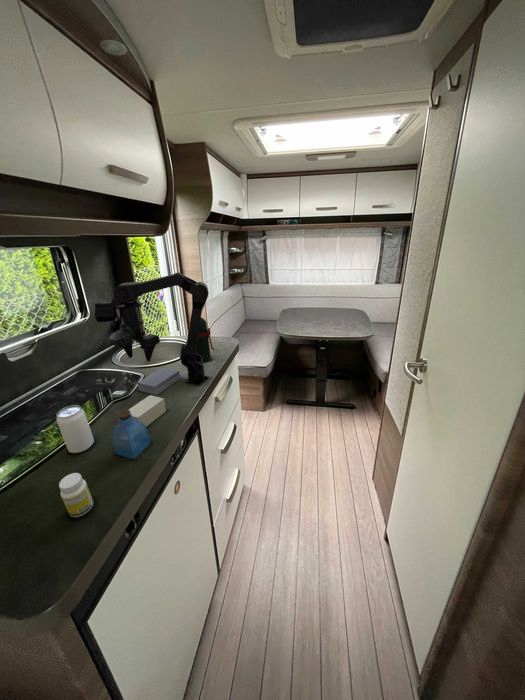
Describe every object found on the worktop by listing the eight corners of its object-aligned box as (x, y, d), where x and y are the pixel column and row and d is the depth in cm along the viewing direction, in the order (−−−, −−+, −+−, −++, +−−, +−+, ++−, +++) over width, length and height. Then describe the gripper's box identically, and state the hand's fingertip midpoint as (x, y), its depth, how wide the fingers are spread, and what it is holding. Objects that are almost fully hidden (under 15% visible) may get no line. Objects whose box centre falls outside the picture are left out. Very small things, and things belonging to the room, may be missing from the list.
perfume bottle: (150, 443, 80) (141, 408, 75) (134, 459, 74) (124, 422, 70) (132, 439, 82) (123, 405, 77) (116, 454, 76) (105, 418, 71)
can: (82, 455, 76) (69, 419, 71) (62, 452, 77) (48, 417, 73) (99, 439, 82) (88, 405, 77) (80, 436, 83) (68, 403, 78)
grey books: (164, 374, 119) (163, 366, 117) (181, 378, 115) (180, 370, 114) (138, 390, 107) (137, 382, 106) (156, 395, 104) (154, 386, 102)
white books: (152, 407, 96) (151, 399, 95) (166, 411, 94) (164, 403, 93) (126, 426, 87) (124, 418, 86) (141, 430, 85) (139, 423, 84)
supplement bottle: (76, 499, 63) (65, 471, 60) (97, 497, 64) (87, 470, 60) (64, 519, 59) (51, 490, 56) (87, 517, 59) (75, 488, 56)
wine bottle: (213, 363, 128) (206, 298, 116) (191, 362, 128) (182, 298, 117) (217, 356, 135) (211, 294, 123) (197, 355, 136) (188, 294, 124)
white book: (151, 399, 95) (150, 394, 94) (164, 403, 93) (163, 398, 92) (124, 418, 86) (123, 413, 85) (139, 422, 84) (137, 417, 83)
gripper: (92, 323, 95) (103, 364, 102) (131, 329, 88) (141, 373, 94) (119, 315, 105) (128, 352, 111) (157, 319, 97) (164, 360, 104)
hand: (139, 359), depth 105 cm, fingers open, 9 cm apart
